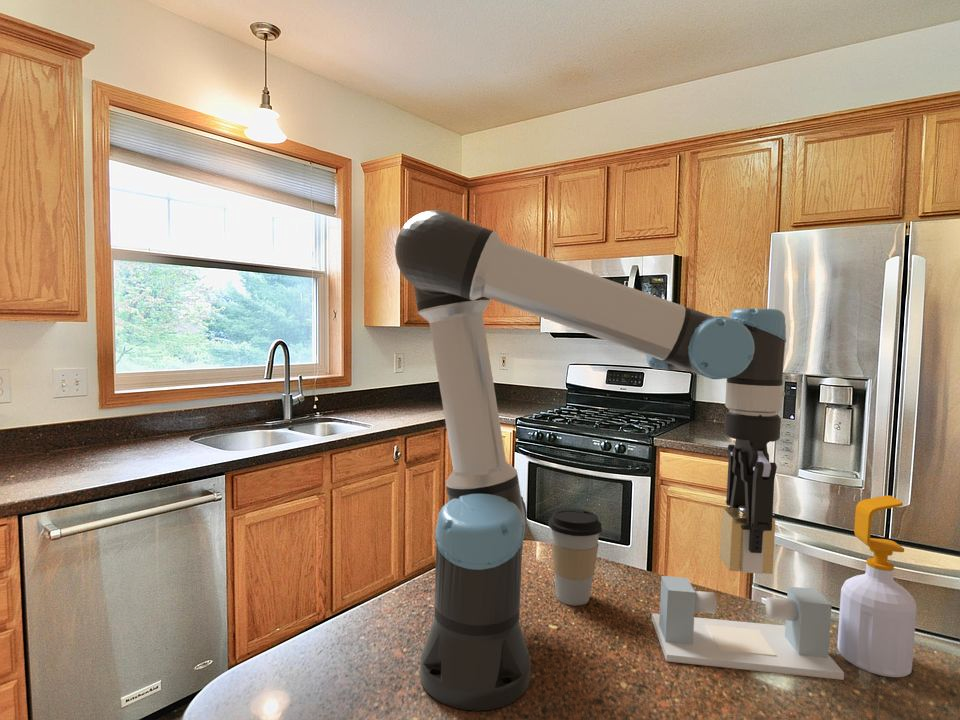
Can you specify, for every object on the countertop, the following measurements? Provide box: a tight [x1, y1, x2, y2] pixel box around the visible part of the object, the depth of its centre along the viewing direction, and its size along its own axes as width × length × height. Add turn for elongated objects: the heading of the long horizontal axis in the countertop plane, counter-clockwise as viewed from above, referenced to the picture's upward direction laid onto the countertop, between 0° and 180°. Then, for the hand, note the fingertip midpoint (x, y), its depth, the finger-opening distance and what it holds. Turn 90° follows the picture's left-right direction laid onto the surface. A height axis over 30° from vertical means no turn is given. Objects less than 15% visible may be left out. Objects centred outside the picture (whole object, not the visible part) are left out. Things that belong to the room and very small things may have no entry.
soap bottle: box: [836, 495, 918, 678], centre depth 82 cm, size 9×9×25 cm
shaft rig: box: [651, 575, 845, 681], centre depth 85 cm, size 24×12×9 cm, turn 82°
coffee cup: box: [547, 507, 603, 607], centre depth 99 cm, size 9×9×15 cm
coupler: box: [719, 506, 776, 575], centre depth 84 cm, size 5×6×9 cm
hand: (744, 563), depth 84 cm, fingers closed on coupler, 5 cm apart
